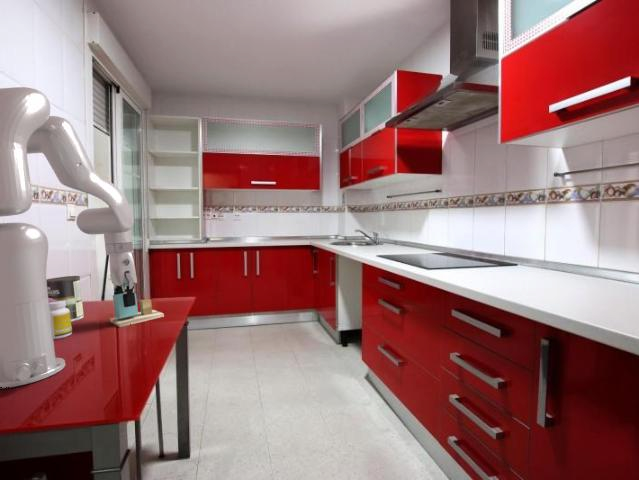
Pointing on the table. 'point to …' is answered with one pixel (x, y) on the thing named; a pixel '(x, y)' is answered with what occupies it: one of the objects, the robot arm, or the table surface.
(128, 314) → the pale teal cube
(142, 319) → the post stand
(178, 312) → the table surface
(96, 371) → the table surface
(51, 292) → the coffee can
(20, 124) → the robot arm
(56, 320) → the supplement bottle
